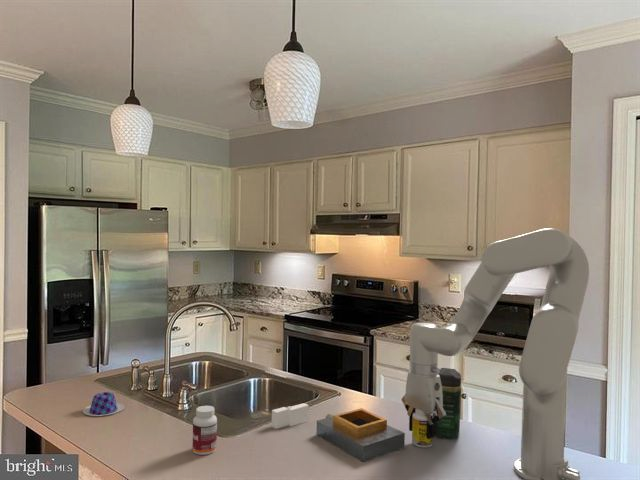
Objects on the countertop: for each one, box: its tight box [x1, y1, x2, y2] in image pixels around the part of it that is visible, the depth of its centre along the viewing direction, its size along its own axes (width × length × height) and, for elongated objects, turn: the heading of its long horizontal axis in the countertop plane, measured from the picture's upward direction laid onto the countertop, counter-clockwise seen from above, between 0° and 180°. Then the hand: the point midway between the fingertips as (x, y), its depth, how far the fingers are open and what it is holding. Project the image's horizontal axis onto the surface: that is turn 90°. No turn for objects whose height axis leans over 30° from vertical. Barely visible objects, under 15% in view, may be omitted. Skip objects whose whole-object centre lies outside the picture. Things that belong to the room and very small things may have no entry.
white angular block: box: [271, 402, 310, 430], centre depth 145 cm, size 15×11×6 cm
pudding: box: [82, 391, 125, 417], centre depth 152 cm, size 12×12×5 cm
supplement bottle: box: [411, 409, 433, 449], centre depth 132 cm, size 6×6×10 cm
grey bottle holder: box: [315, 407, 406, 463], centre depth 135 cm, size 24×15×6 cm, turn 37°
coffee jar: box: [432, 367, 462, 440], centre depth 141 cm, size 10×8×19 cm
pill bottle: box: [191, 405, 218, 456], centre depth 125 cm, size 6×6×11 cm
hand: (422, 433), depth 132 cm, fingers closed on supplement bottle, 5 cm apart
